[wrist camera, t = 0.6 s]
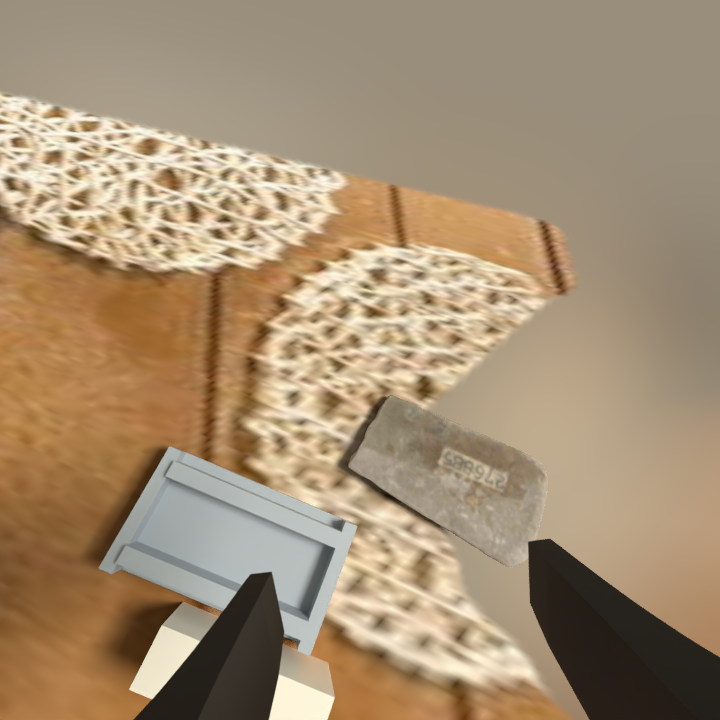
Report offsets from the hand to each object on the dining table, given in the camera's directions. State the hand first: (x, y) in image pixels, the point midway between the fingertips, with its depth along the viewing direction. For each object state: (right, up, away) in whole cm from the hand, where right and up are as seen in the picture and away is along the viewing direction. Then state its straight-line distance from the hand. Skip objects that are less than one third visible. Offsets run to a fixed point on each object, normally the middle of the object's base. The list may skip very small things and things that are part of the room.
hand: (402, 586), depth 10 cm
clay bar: (-10, -16, +17) cm, 26 cm away
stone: (+7, -5, +25) cm, 26 cm away
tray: (-11, -8, +20) cm, 24 cm away
